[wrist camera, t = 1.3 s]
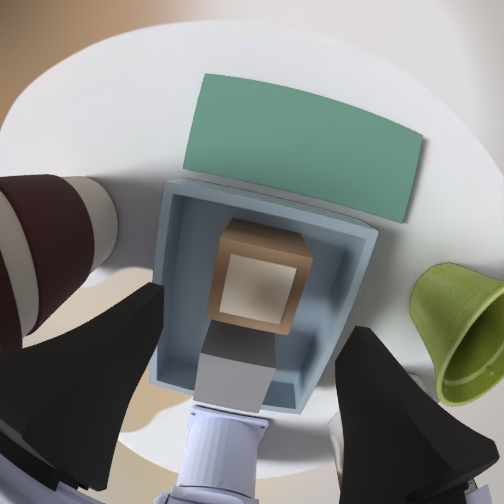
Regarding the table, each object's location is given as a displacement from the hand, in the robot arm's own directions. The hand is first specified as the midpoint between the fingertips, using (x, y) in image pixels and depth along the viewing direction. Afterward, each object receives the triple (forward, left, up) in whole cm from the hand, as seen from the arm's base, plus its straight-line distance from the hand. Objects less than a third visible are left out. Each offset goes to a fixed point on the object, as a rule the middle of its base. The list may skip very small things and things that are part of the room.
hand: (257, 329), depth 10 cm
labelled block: (0, 0, -9) cm, 9 cm away
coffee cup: (-1, +14, -10) cm, 17 cm away
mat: (+8, -1, -10) cm, 12 cm away
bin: (-4, 0, -9) cm, 10 cm away
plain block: (-7, 0, -9) cm, 12 cm away
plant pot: (0, -15, -10) cm, 18 cm away
